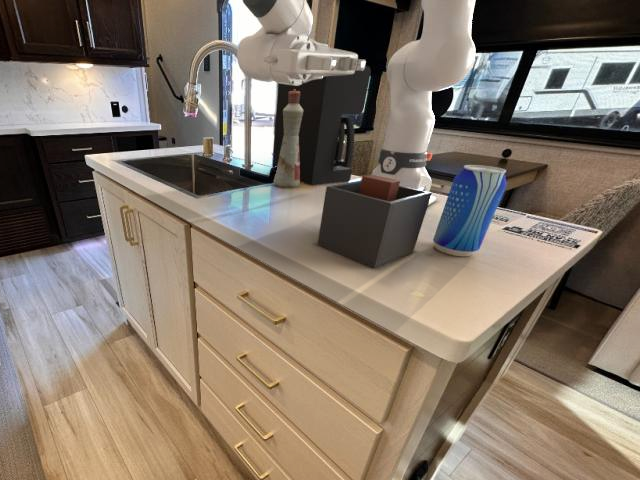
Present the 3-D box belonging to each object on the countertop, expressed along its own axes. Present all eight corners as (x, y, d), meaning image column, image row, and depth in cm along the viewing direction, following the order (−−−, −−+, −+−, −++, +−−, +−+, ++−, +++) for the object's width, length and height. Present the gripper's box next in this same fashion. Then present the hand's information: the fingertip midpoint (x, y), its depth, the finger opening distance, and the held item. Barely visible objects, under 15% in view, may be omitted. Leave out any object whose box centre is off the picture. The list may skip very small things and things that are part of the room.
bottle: (269, 183, 118) (276, 88, 103) (293, 182, 120) (303, 89, 105) (278, 189, 111) (286, 88, 96) (303, 188, 113) (315, 89, 98)
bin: (357, 232, 77) (368, 178, 71) (413, 251, 68) (432, 192, 62) (317, 244, 70) (326, 186, 64) (374, 268, 61) (391, 203, 55)
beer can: (483, 260, 66) (521, 174, 57) (437, 255, 67) (468, 170, 59) (468, 244, 73) (499, 165, 64) (426, 240, 74) (452, 162, 66)
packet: (357, 238, 72) (371, 174, 65) (382, 247, 68) (400, 180, 61) (348, 241, 70) (362, 176, 63) (373, 251, 66) (391, 182, 59)
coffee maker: (359, 183, 122) (384, 65, 103) (318, 188, 113) (337, 60, 95) (309, 169, 142) (322, 68, 124) (271, 172, 134) (278, 65, 115)
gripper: (259, 39, 64) (316, 40, 56) (327, 44, 75) (382, 46, 67) (257, 78, 68) (309, 85, 60) (321, 78, 79) (373, 84, 71)
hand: (348, 64), depth 63 cm, fingers open, 8 cm apart
